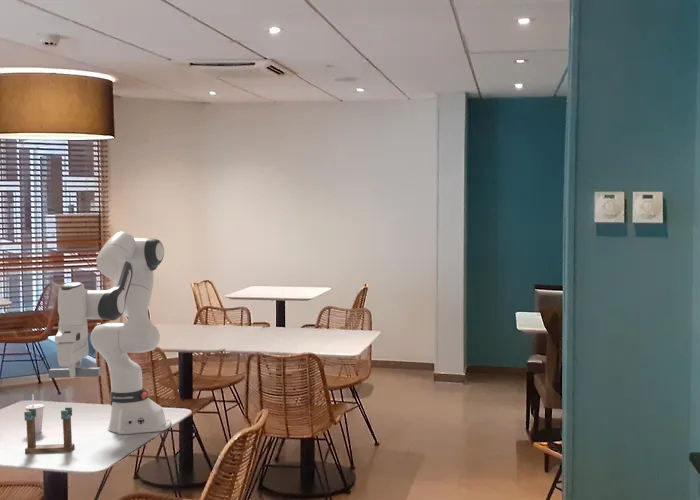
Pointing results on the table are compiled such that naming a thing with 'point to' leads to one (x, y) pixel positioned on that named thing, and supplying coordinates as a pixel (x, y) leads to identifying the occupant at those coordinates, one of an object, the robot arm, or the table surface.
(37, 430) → the smoothie
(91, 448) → the table surface
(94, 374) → the rail
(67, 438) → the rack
